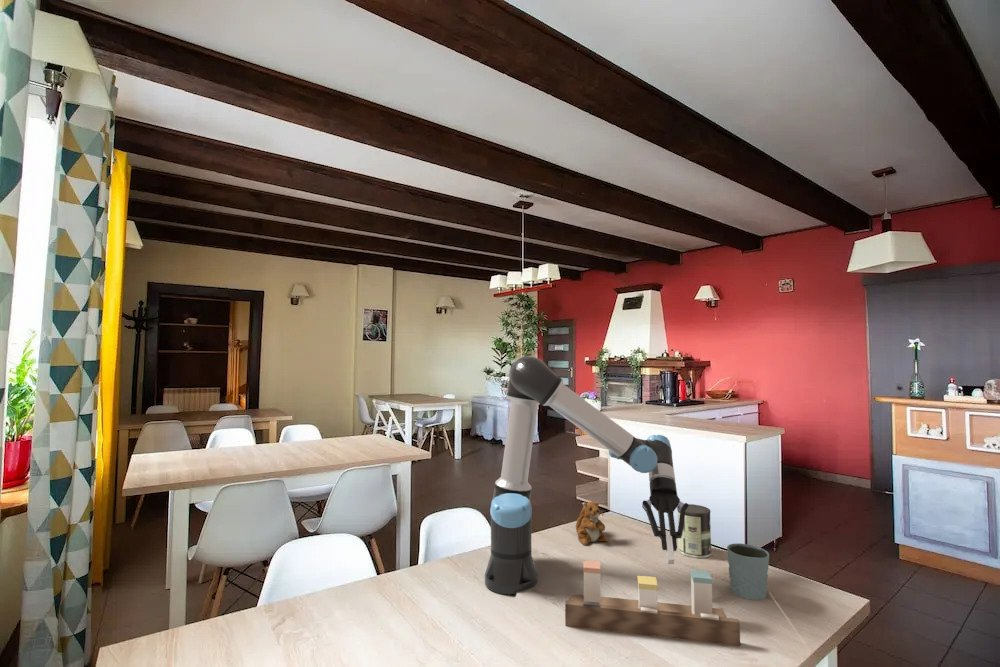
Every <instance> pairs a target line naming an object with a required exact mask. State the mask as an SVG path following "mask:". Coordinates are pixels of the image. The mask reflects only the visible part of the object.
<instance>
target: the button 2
mask: <svg viewBox="0 0 1000 667" xmlns="http://www.w3.org/2000/svg"><path fill="white" fill-rule="evenodd" d="M689 571H690V589H691V590H690V591H691V594H690V595H691V598H690V599H691V601H690V602H691V606H692V614H697V615H700V613H703V614H712V608H713V586H712V585H713V578H712V575H711V574H710V572H709V570H699V569H690V570H689Z"/></svg>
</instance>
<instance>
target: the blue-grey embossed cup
mask: <svg viewBox="0 0 1000 667" xmlns="http://www.w3.org/2000/svg"><path fill="white" fill-rule="evenodd" d="M726 552H727V560H728V561H727V563H728V576H729V579H730V580H729V587H730V592H732V594H734V595H736V596H737V597H740V598H742V599H747V600H752V601H761V600H765V599H766V598H767V593H768V592H767V585H768V572H769V562H770V553H769V551H768V550H766V549H764V548H762V547H760V546H756V545H754V544H753V545H752V544H747V543H731V544H728V545H727V546H726Z"/></svg>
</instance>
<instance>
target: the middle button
mask: <svg viewBox="0 0 1000 667" xmlns="http://www.w3.org/2000/svg"><path fill="white" fill-rule="evenodd" d="M658 590H659V586H658V581H657V577H656V576H649V575H637V594H638V596H637V597H638V599H637V600H638V608H639V609H641V607H646V608H655V609H657V610H658V607H657V602H658Z"/></svg>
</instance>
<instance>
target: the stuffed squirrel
mask: <svg viewBox="0 0 1000 667" xmlns="http://www.w3.org/2000/svg"><path fill="white" fill-rule="evenodd" d="M581 504H582V506H583V507H582V509H581V511H580V514H579V515H578V517H577V519H576V523H575V532H576V533H577V538H578V542H579V543H580V544H582V545H583V546H587V545H588V544H589V543H594V542H601V541H605V542H604V543H607V542H608V541H609V538H608V537H607V536H605V535H604V533H603V532H604V531H605V530H606V525H605V524H604V523H603V522H602V520H600V519H599V517H600V515H601V516H602V517H603V516H604V515H605V513H604V512H603V511H602V510H600V507H599V505H600V502H599V501H597V502H596V501H588V502H585V501H584V502H582V503H581Z"/></svg>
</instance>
